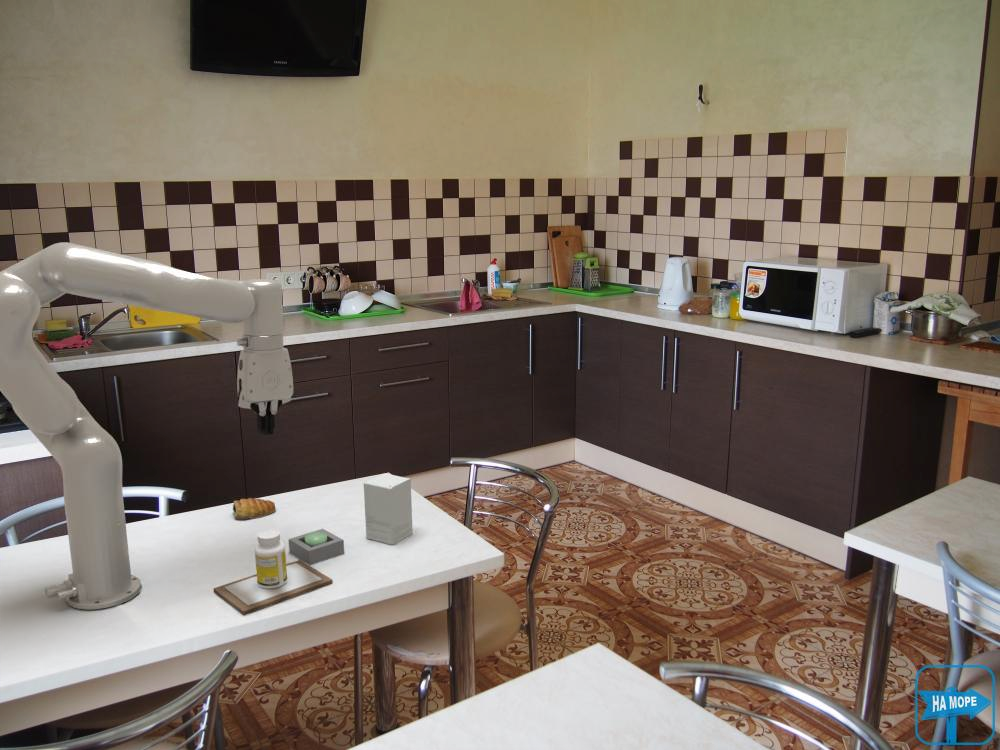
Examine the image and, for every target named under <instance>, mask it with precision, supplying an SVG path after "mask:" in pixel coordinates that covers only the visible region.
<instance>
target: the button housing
mask: <svg viewBox="0 0 1000 750" xmlns="http://www.w3.org/2000/svg"><path fill="white" fill-rule="evenodd" d="M313 532H323V533H325V534H327V542H326V543H323V544H320V545H317V546H314V547H310V546H308V545H307V544H305V536H306V535H307V534H309V533H313ZM344 541H345V540H344V539H343V538H341V537H339V536H338V535H335V534H334V533H332V532H330V531H328V530H326V529H324V528H321V529H317V530H313V531H311V532H307V533H304V534H301V535H297V536H295V537H291V538H288V553H289V554H291V555H292V556H293V557H295V558H297V559H298V560H301V561H303V562H304V563H306V564H308V565H309V566H311V565H315V564H318V563H321V562H323V561H327V560H330V559H332V558H335V557H338V556H342V555H344V554H345V545H344V543H345V542H344Z"/></svg>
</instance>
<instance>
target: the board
mask: <svg viewBox="0 0 1000 750" xmlns="http://www.w3.org/2000/svg"><path fill="white" fill-rule="evenodd" d="M286 569H287V582H286V583H285V584H284V585H282V586H280V587H277V588H273V589H265V588H262V587H260V586H259V585H258V582H257V573H256V574H252V575H249V576H247V577H243V578H241V579H238V580H235V581H231V582H228V583H226V584H223V585H222V584H221V585H220V586H219V585H218V586H217V587H213V594H215V595H216V596H218V597H219V598H220V599H222V600H223V601H224V602H226V603H227V604H228V605H230V606H231V607H232V608H233V609H235V610H236V611H237V612H238V613H240V614H241V615H242V616H247V615H250V614H253V613H256V612H258V611H261V610H264V609H267V608H270V607H272V606H274V605H278V604H280V603H283V602H286V601H288V600H292V599H294V598H297V597H299V596H302V595H305V594H308V593H310V592H311V593H312V592H313V591H316V590H318V589H319V590H320V589H322V588H324V587H328V586H330V585H333V583H334V581H333V579H332V578H331V577H329V576H327V575H325V574H324V573H322V572H321V571H319V570H318V569H316V568H314V567H313V566H311V565H309V564H307V563H305V562H304V561H302V560H300V559H298V560H296V561H295V560H294V561H291V562H288V563H286Z"/></svg>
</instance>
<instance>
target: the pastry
mask: <svg viewBox="0 0 1000 750" xmlns="http://www.w3.org/2000/svg"><path fill="white" fill-rule="evenodd" d="M232 510H233V516H234V518H235V519H237V520H240V521H241V520H242V521H243V520H244V521H245V520H247V519H251V520H252V519H256V518H262V517H266V516H268V515H271V514H272V513H275V512H276V510H277V509H276V505H275V502H274V501H272V500H268V499H266V500H265V499H261V498H252V497H249V498H241V499H240V500H234V501H233V504H232Z"/></svg>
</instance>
